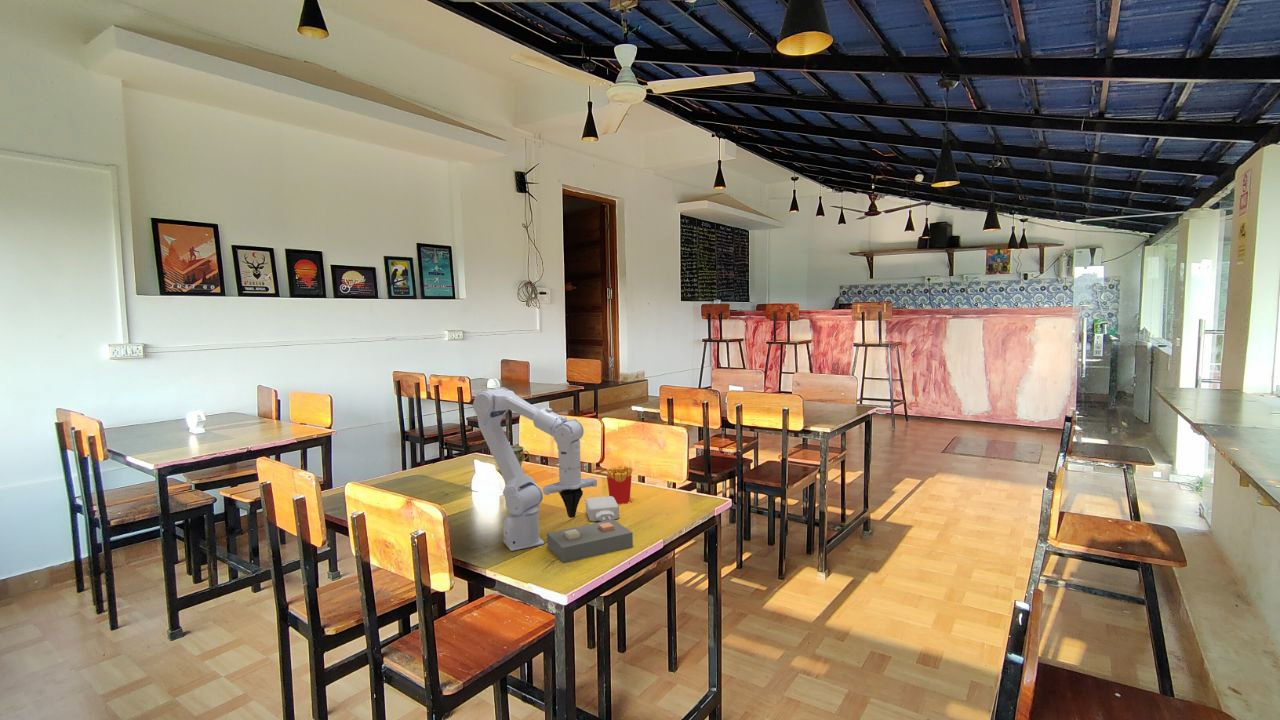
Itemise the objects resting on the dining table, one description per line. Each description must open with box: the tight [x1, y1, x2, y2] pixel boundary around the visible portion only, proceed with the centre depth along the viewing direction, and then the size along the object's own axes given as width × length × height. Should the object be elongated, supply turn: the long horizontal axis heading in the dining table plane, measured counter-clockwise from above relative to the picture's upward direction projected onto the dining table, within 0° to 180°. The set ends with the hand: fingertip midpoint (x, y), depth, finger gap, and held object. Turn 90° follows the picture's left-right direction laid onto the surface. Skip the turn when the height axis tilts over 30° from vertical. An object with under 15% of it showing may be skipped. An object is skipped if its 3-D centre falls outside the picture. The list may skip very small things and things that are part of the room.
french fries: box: [606, 464, 633, 505], centre depth 204 cm, size 8×4×12 cm, turn 103°
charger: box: [585, 495, 620, 522], centre depth 188 cm, size 5×9×15 cm
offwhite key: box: [564, 529, 580, 540], centre depth 164 cm, size 3×3×3 cm
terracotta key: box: [598, 522, 614, 533], centre depth 168 cm, size 3×3×3 cm
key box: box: [546, 519, 634, 564], centre depth 166 cm, size 20×12×4 cm, turn 118°
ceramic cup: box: [510, 445, 530, 467], centre depth 242 cm, size 13×10×10 cm
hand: (571, 516), depth 163 cm, fingers closed
